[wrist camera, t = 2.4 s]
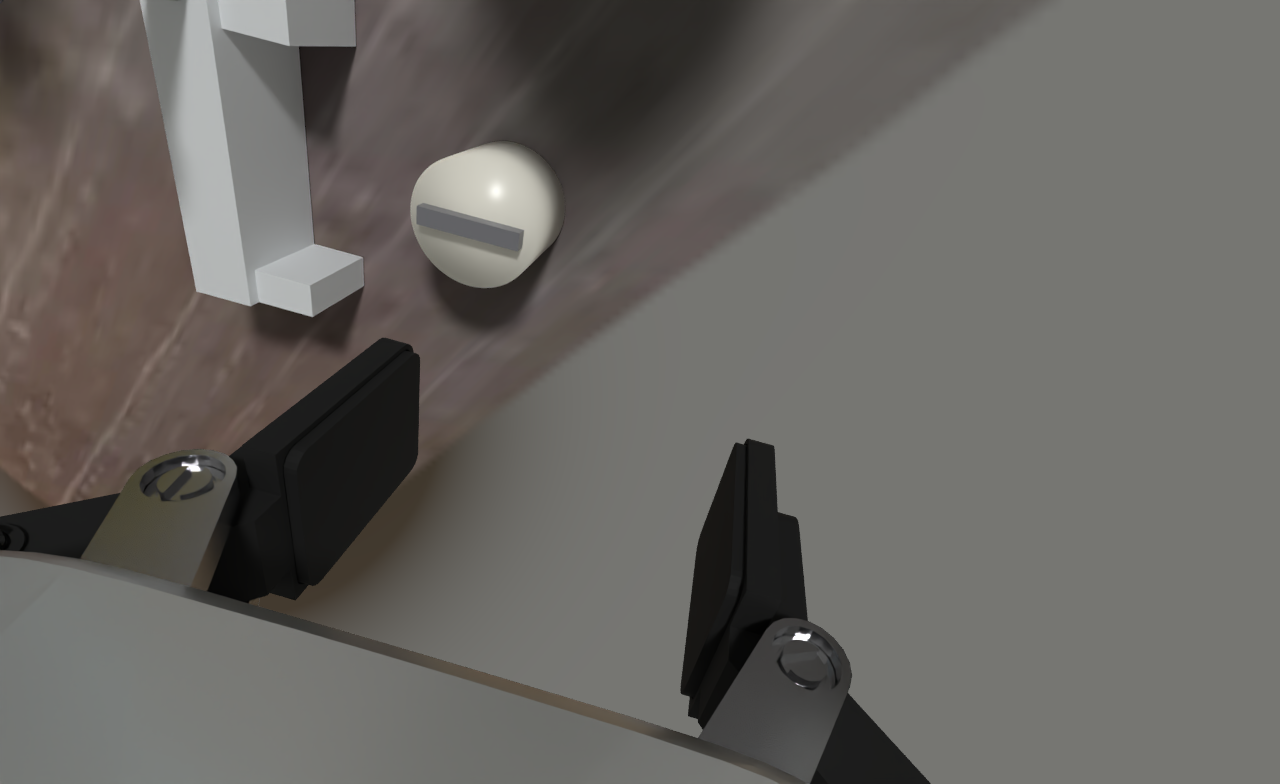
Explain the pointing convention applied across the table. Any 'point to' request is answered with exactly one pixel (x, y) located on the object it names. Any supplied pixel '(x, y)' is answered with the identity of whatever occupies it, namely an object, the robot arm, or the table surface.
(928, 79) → the table surface
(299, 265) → the mount
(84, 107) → the table surface
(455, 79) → the table surface
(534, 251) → the knob slider
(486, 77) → the table surface
